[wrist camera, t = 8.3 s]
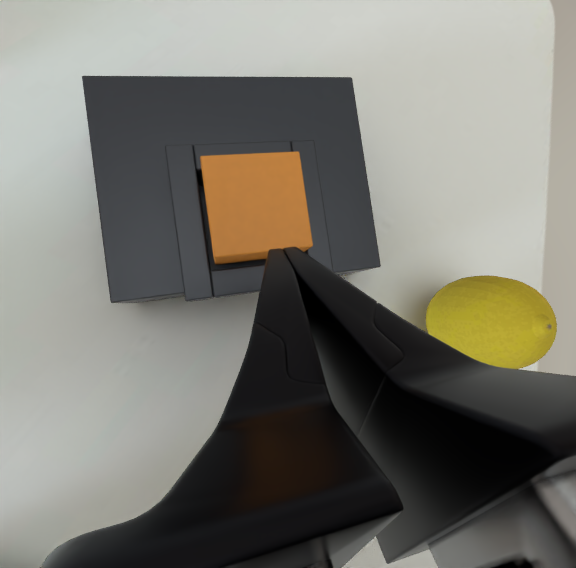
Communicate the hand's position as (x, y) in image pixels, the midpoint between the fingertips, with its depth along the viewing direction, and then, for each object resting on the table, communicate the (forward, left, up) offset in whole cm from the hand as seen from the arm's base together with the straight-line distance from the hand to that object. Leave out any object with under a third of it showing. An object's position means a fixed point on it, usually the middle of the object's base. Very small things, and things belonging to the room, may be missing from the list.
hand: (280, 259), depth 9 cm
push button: (+4, -3, -11) cm, 12 cm away
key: (+2, -2, -5) cm, 6 cm away
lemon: (-11, -8, -11) cm, 17 cm away
